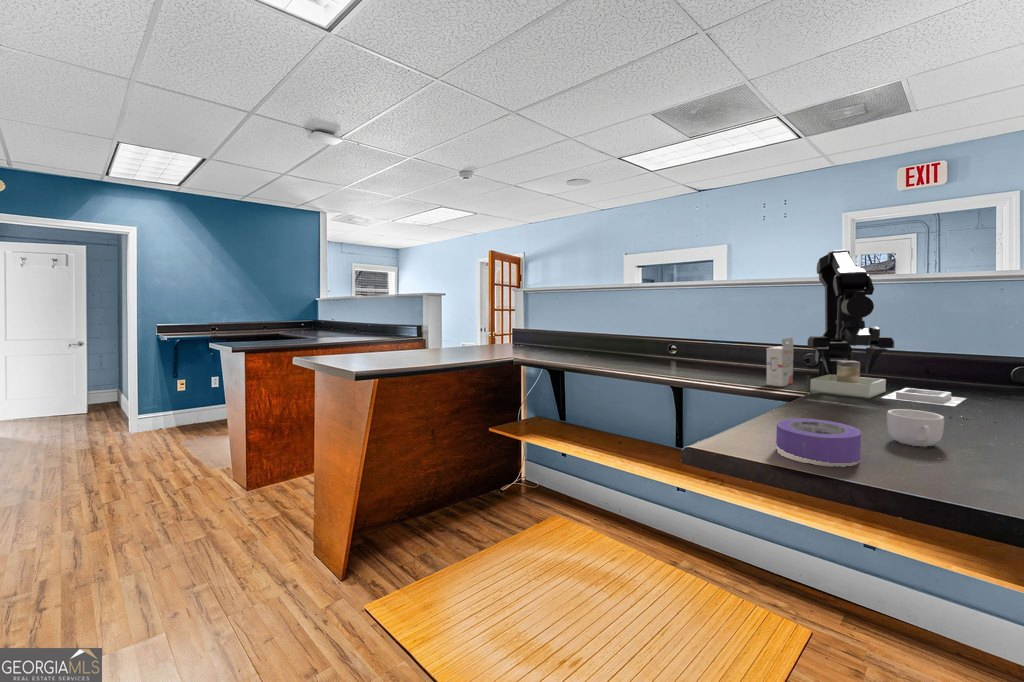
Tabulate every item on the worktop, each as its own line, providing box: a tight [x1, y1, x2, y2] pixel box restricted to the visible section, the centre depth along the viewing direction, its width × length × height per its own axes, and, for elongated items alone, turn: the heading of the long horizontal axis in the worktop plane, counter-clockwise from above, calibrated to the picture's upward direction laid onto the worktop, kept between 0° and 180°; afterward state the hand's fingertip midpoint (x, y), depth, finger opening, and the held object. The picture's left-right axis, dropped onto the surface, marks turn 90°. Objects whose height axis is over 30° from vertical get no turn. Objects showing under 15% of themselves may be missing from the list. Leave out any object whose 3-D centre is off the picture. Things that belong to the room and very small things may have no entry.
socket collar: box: [880, 387, 967, 407], centre depth 118 cm, size 14×14×2 cm
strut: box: [836, 359, 861, 384], centre depth 128 cm, size 4×4×8 cm
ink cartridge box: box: [765, 336, 795, 388], centre depth 145 cm, size 9×5×15 cm, turn 129°
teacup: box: [886, 408, 945, 447], centre depth 82 cm, size 10×8×5 cm
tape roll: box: [775, 418, 862, 463], centre depth 77 cm, size 12×12×5 cm
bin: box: [809, 374, 887, 399], centre depth 129 cm, size 14×14×4 cm
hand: (848, 373), depth 128 cm, fingers open, 9 cm apart
